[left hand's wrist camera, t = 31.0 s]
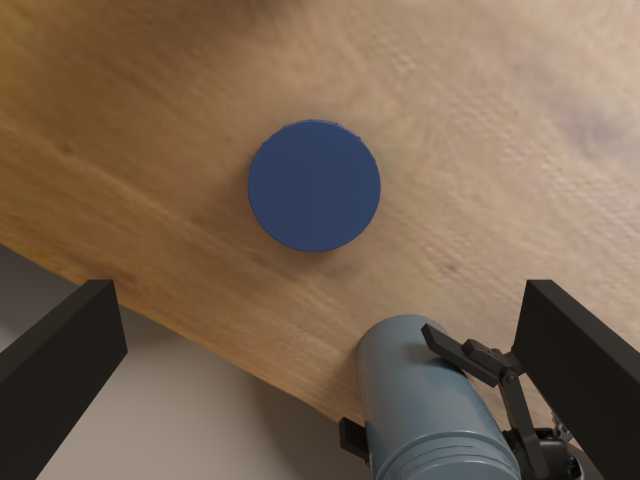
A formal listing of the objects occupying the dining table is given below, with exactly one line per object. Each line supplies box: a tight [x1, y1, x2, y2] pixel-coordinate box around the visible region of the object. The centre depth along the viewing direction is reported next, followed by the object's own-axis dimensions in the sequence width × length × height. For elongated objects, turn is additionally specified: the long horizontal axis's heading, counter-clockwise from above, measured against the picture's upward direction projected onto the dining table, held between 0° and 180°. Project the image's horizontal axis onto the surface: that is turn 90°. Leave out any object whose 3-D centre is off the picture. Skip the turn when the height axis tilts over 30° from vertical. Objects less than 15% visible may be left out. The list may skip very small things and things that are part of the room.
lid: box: [248, 119, 381, 252], centre depth 33 cm, size 11×11×2 cm
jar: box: [356, 315, 522, 480], centre depth 32 cm, size 10×10×16 cm
